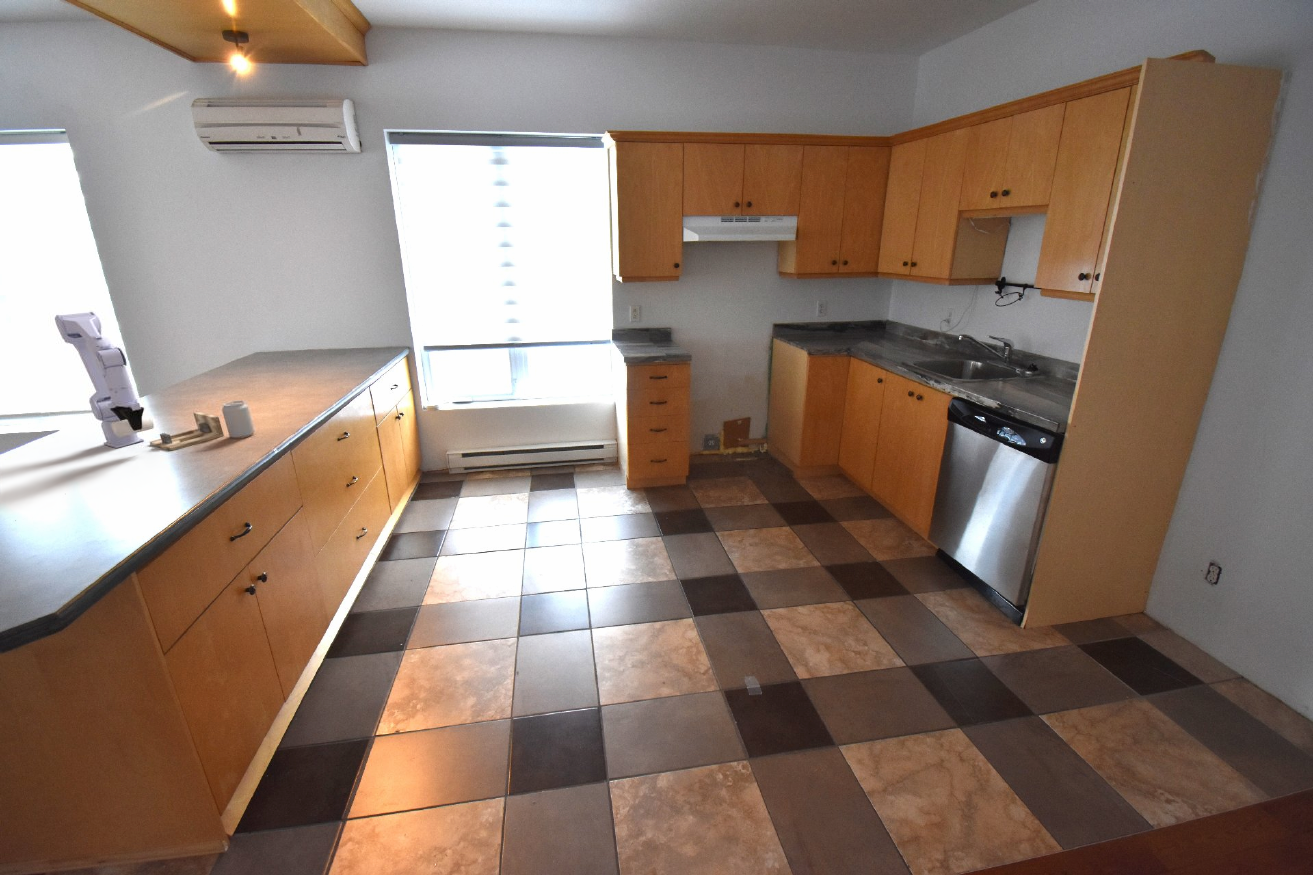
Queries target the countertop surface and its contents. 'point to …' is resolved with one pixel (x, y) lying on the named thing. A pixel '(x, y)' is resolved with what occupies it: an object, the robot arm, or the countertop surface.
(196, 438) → the roll holder
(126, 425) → the cylinder
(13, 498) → the countertop surface
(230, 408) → the can
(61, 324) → the robot arm
